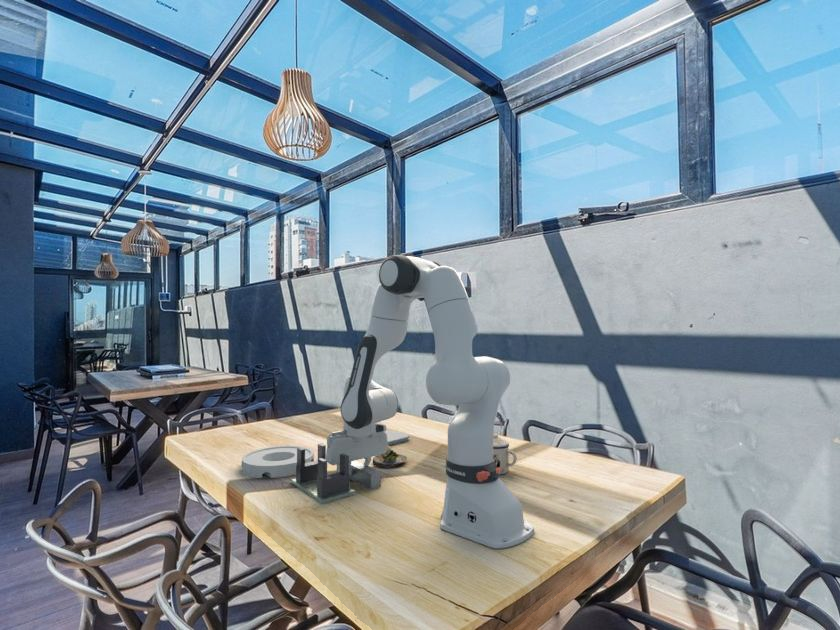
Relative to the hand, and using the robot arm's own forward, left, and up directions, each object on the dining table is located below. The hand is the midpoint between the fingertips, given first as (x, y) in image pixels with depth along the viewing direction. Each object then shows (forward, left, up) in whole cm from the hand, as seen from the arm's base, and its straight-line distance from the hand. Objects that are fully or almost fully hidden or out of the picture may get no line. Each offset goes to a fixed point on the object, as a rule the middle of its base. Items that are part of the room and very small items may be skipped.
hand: (357, 473), depth 131 cm
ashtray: (+28, +14, -2) cm, 31 cm away
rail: (0, 0, -2) cm, 2 cm away
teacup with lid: (-23, -39, -2) cm, 45 cm away
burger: (+7, -17, -2) cm, 19 cm away
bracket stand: (0, +12, -2) cm, 12 cm away
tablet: (+32, -28, -2) cm, 43 cm away
